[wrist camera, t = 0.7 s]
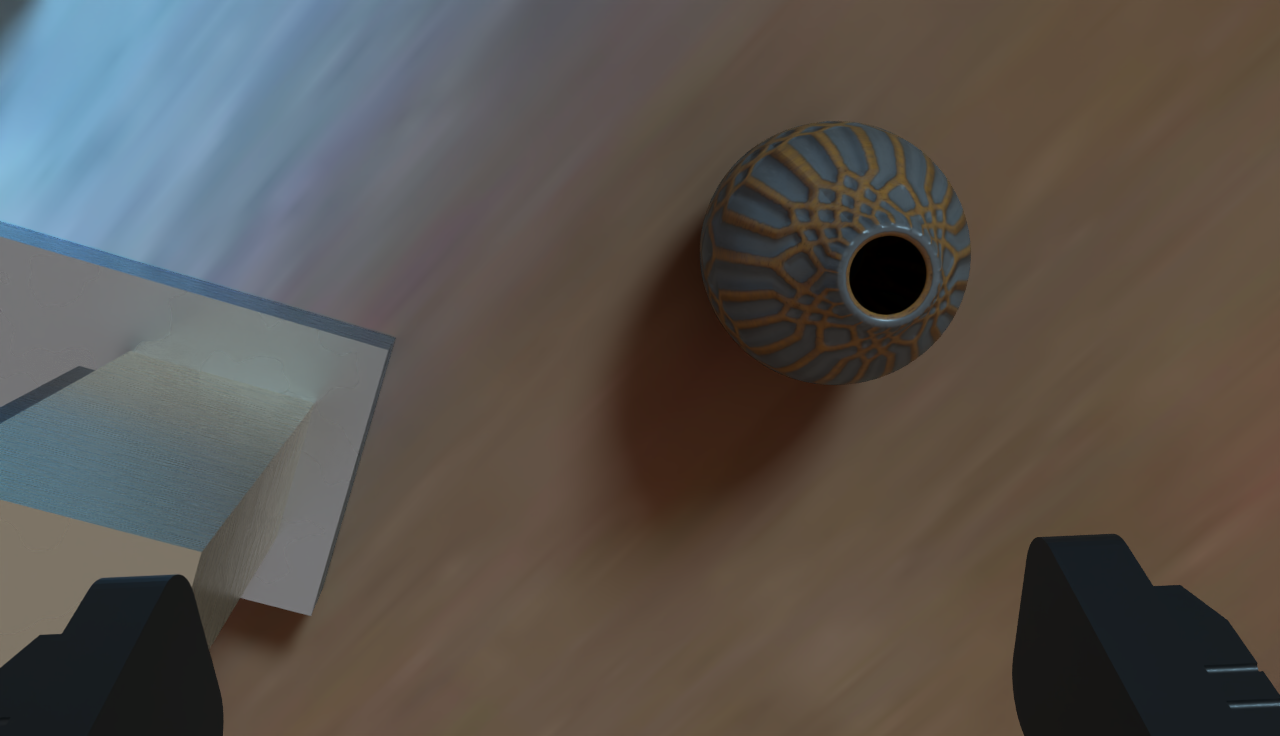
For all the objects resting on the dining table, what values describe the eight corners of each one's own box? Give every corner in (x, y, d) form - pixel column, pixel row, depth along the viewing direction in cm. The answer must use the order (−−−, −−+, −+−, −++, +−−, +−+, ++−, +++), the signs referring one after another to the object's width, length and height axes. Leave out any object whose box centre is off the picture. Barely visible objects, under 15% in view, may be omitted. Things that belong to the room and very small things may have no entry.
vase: (769, 401, 36) (846, 484, 28) (638, 214, 35) (676, 241, 26) (957, 267, 36) (1093, 309, 28) (833, 74, 35) (935, 54, 26)
